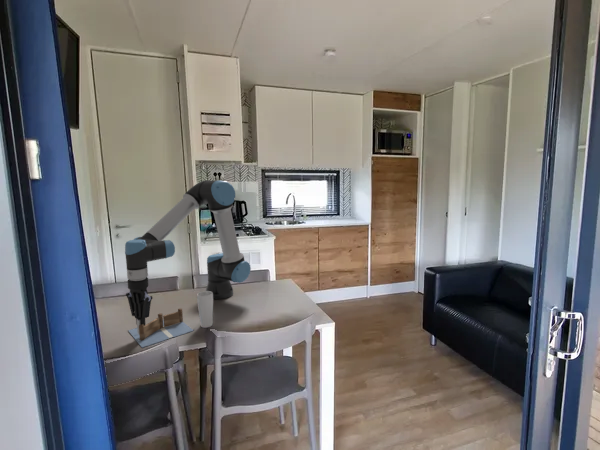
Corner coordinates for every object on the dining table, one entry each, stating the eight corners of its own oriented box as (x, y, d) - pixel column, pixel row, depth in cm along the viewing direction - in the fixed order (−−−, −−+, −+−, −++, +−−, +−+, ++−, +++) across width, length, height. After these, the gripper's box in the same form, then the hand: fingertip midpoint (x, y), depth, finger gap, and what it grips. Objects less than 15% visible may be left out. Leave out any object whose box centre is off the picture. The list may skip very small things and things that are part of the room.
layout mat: (128, 330, 143) (128, 330, 143) (176, 316, 157) (176, 316, 157) (142, 347, 129) (141, 347, 129) (193, 330, 143) (193, 330, 143)
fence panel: (160, 326, 146) (159, 313, 145) (164, 326, 146) (163, 313, 145) (138, 340, 134) (137, 326, 133) (142, 340, 134) (141, 326, 133)
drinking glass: (200, 322, 151) (198, 291, 149) (215, 321, 151) (214, 290, 149) (197, 329, 144) (195, 296, 142) (213, 328, 145) (211, 295, 142)
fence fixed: (163, 325, 147) (162, 313, 146) (182, 320, 152) (181, 308, 151) (165, 327, 146) (164, 314, 145) (183, 321, 151) (182, 309, 150)
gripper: (118, 278, 133) (122, 333, 137) (140, 283, 128) (144, 340, 131) (134, 273, 140) (138, 326, 143) (156, 277, 134) (160, 332, 138)
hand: (141, 332), depth 137 cm, fingers closed
